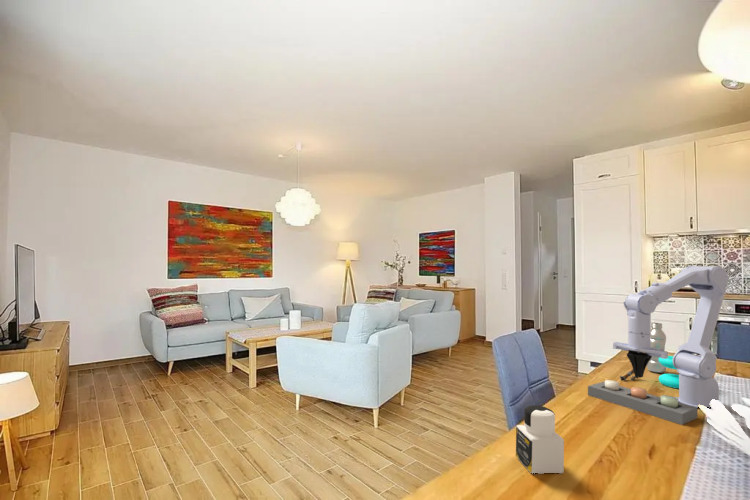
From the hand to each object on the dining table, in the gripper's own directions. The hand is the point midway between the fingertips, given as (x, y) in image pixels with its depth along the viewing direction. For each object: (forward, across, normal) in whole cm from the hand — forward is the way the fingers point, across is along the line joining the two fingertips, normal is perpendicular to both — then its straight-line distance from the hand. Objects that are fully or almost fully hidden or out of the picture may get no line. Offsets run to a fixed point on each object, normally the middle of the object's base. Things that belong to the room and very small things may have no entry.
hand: (638, 376), depth 119 cm
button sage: (+7, +8, 0) cm, 10 cm away
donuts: (+9, -4, +35) cm, 36 cm away
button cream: (+7, -8, 0) cm, 10 cm away
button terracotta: (+7, 0, 0) cm, 7 cm away
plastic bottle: (+9, -15, +49) cm, 52 cm away
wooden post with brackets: (+9, -15, +26) cm, 32 cm away
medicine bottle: (+9, +7, -59) cm, 60 cm away
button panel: (+9, 0, 0) cm, 9 cm away
